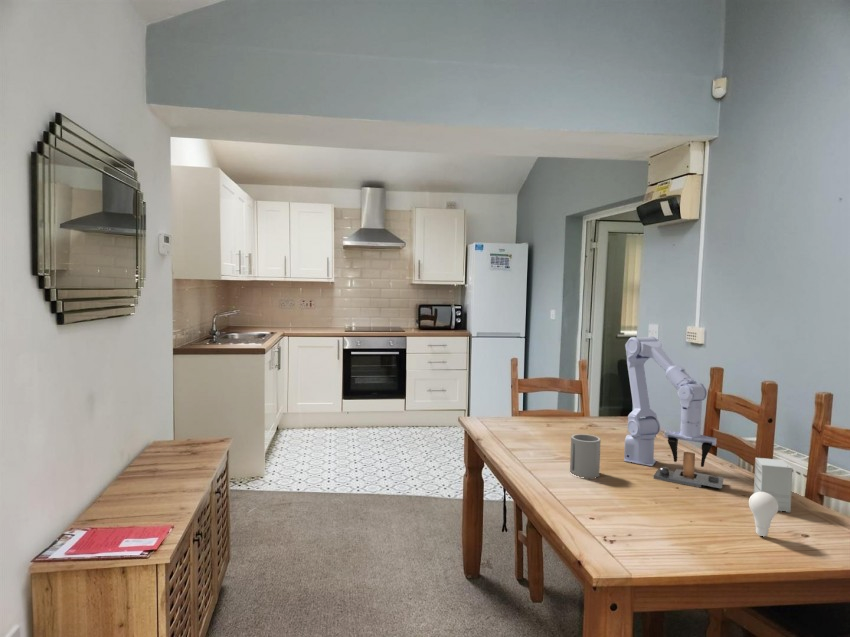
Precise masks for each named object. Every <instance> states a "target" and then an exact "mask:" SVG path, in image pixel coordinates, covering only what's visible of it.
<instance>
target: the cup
mask: <svg viewBox="0 0 850 637" xmlns="http://www.w3.org/2000/svg"><path fill="white" fill-rule="evenodd" d="M569 460H570V462H569V465H570V467H569V473H570V472H571V473H572V474H574V475H576V476H579V477H584V478H595V477H598V476H599V477H600V469H601V466H600V463H601V438H600V437H599V436H596V435H593V434H587V433H576V434H575V433H574V434H572V435H571V437H570V458H569ZM599 477H598V478H599ZM595 479H596V478H595Z"/></svg>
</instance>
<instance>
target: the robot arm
mask: <svg viewBox="0 0 850 637" xmlns="http://www.w3.org/2000/svg"><path fill="white" fill-rule="evenodd" d="M624 347H625V355H626V365H627V371H628V372H627V373H628V378H629V386H630V393H631V400H632V411H631V412H629V414H628V415H627V431H628V433H629V434H626V436H625V439H624V451H623V452H624V456H623V457H624V458H623V461H624V462H626V463H631V462H632V463H633V464H637V465H638V464H639V465H643V466H649V467H653V466H654V465H655V463H656V462H657V459H656V458H654V457H655V456H654V455H655V438H657V435H658V434H659V433H660V431H661V424H660V422H659V420H658V417H657V413H656V412H655V411H654V410H652V409H651V408H650V407H651V406H650V399H649V391H648V385H647V384H648V383H647V379H646V372H645V363H646V362H647V361H649V360H650V359H652V360H653V361H654V362H655V363H656V364H658V365H659V366H660V368H662V370H664V372H665V377H666V379H667V380H668V381H669V383H670V384H671V385H673V387H674V388H675V389H676V390H677V391H676V392H677V397H678V398H679V404H680V406H681V407H680V430H679V431H672V430H664V438H665V439H667V443H668V446H669V447H670V451H671V454H672V457H673V462H674V463H677V461H678V444H679V443H678V442H679V440H681V441H689V442H694V443H700V444H702V445H701V460H700V467H701V468H705V467H704V466H705V461H706V458H707V456H708V454H709V452H710V451H711V448H712V446H717V439H718V438H716V437H712V436H707V435H704V434H701V431H702V430H701V429H702V426H701V425H702V410H703V409H702V404H703V401H705V399H706V398H707V394H708V391H707V388H706V387H705V385H704V383H702V382H697V381H696V380H695V379H694V378H692V377H691V376H690V374H689V373H687V372H686V369H685V367H683V366H681V365H675V363H673V361H672V360H671V358H670V357H669V356H668V354H667V353H666V352H665V350H664V349H663V348H662V342H661V341H659V340H658V338H657V337H655V336H643V337H642V336H641V337H640V336H639V337H635V336H632V337H630V338H629V339H628V340H627V341H626V342H625V344H624ZM632 463H631V464H632Z"/></svg>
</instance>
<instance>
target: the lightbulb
mask: <svg viewBox="0 0 850 637" xmlns="http://www.w3.org/2000/svg"><path fill="white" fill-rule="evenodd" d="M748 499H749V500H748V506H749V509H750V511H751V512H752V515H753V518H754V525H755V533H756V534H757V535H759V536H758V537H760V536H763V537H762V538H765V537H767V536H768V535H769V531H770V530H769V529H770V527H771V523H772V521H773V519H774V517H775V516H776V515H777V513H778V512H779V511H778V503H777V501H776V499H775V498H774V497H773V496H772V495H770V494H768V493H766V492H756V493H754V492H753V493H752V494H751V495H750V497H749V498H748Z"/></svg>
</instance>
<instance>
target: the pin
mask: <svg viewBox="0 0 850 637" xmlns="http://www.w3.org/2000/svg"><path fill="white" fill-rule="evenodd" d="M695 462H696V453H694V452H692V451H684V452H683V463H682V464H683V465H682V470H683V476H684V477H690V478H694V472H695Z"/></svg>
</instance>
